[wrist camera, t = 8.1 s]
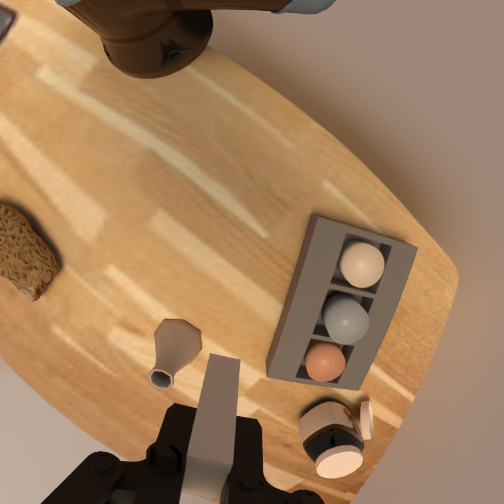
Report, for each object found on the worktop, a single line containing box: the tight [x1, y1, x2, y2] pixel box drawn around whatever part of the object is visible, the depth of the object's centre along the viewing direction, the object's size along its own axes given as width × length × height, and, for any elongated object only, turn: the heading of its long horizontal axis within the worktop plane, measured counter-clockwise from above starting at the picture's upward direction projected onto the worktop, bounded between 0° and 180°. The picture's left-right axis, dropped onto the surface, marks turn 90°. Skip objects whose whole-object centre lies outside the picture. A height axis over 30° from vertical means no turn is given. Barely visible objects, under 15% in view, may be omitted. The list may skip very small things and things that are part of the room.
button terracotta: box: [304, 338, 345, 382], centre depth 40 cm, size 5×5×4 cm
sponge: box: [0, 203, 59, 302], centre depth 37 cm, size 13×8×20 cm
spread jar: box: [299, 401, 373, 478], centre depth 40 cm, size 12×11×12 cm
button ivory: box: [336, 239, 384, 288], centre depth 37 cm, size 5×5×4 cm
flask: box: [148, 320, 202, 390], centre depth 38 cm, size 7×7×10 cm
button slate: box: [321, 294, 369, 345], centre depth 37 cm, size 5×5×4 cm
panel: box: [266, 214, 418, 391], centre depth 39 cm, size 22×14×4 cm, turn 166°
